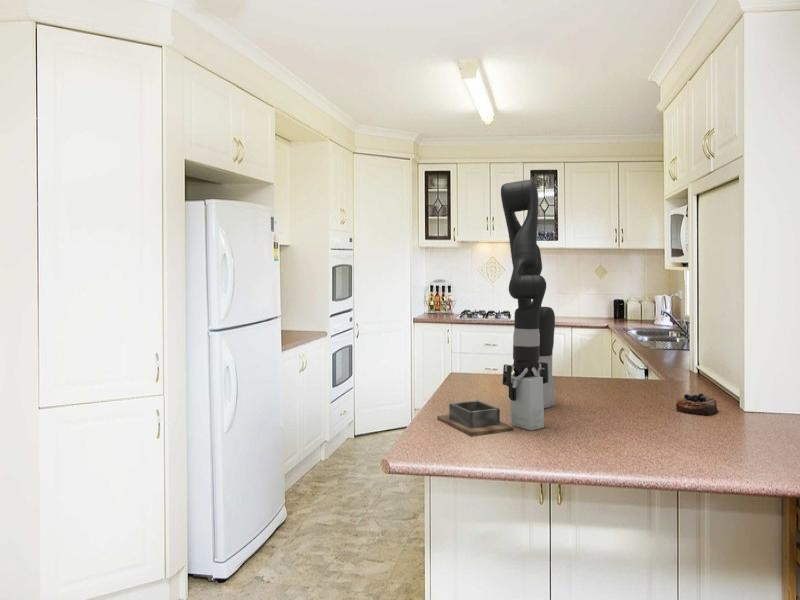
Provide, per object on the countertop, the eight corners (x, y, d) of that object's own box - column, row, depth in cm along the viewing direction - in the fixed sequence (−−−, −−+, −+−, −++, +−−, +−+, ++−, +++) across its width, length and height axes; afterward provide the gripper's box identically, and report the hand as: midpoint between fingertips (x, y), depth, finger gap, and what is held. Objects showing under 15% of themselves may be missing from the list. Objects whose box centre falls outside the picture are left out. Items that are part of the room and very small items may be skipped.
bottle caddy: (476, 414, 190) (476, 397, 189) (513, 430, 171) (513, 411, 171) (437, 419, 184) (437, 401, 184) (471, 436, 166) (471, 416, 165)
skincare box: (544, 428, 174) (545, 377, 173) (529, 431, 170) (530, 379, 170) (523, 421, 181) (524, 372, 180) (508, 424, 177) (509, 374, 177)
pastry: (720, 411, 195) (721, 393, 194) (709, 418, 186) (709, 399, 186) (685, 405, 202) (685, 388, 202) (672, 412, 193) (672, 394, 193)
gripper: (538, 341, 181) (537, 394, 181) (498, 343, 175) (497, 398, 176) (554, 344, 174) (553, 399, 174) (512, 346, 168) (511, 403, 169)
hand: (525, 399), depth 175 cm, fingers open, 8 cm apart
